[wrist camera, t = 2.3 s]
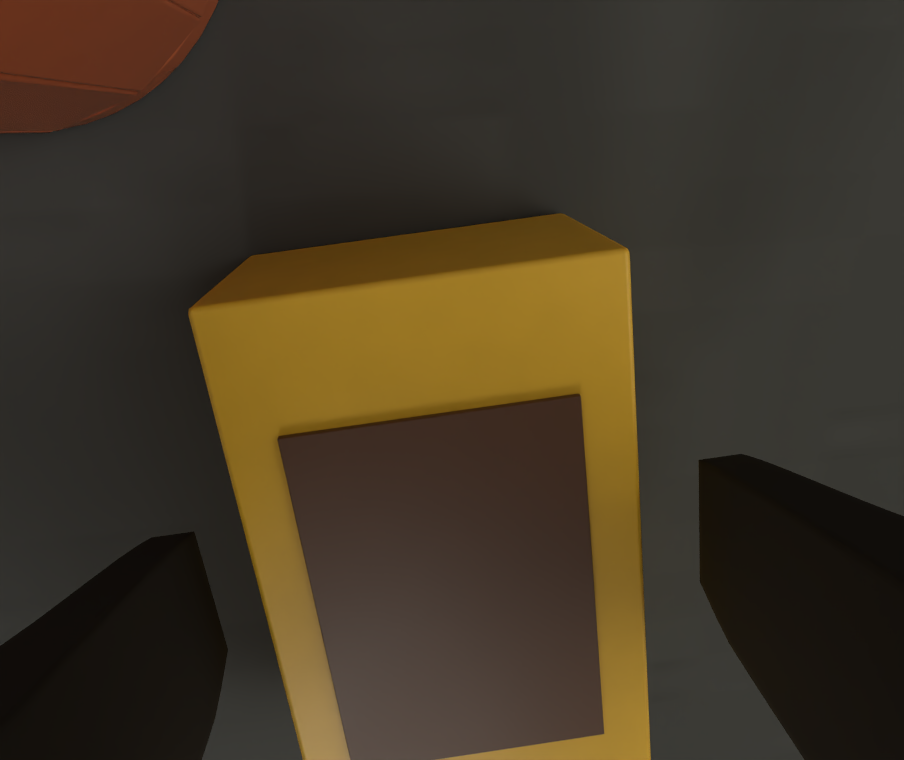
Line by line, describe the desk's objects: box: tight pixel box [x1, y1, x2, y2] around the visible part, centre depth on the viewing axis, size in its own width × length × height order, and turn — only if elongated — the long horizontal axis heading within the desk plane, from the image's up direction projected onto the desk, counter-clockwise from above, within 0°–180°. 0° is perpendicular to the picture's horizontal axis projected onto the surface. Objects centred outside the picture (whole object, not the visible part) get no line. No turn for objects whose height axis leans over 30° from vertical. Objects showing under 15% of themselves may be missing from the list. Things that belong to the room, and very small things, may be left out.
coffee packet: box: [188, 213, 651, 760], centre depth 11 cm, size 8×5×4 cm, turn 7°
